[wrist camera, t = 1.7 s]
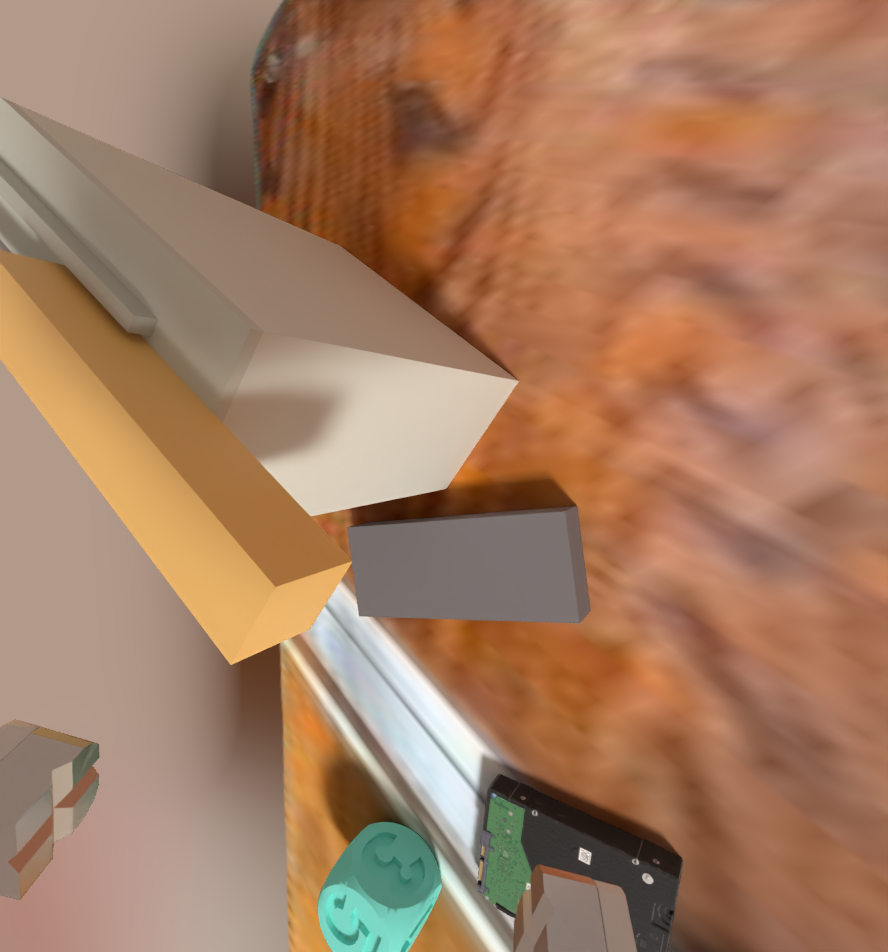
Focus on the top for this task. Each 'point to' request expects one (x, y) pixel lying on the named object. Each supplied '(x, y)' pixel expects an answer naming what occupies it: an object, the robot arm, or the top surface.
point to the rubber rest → (473, 567)
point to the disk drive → (574, 858)
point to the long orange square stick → (166, 464)
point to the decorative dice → (379, 891)
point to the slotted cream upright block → (255, 319)
